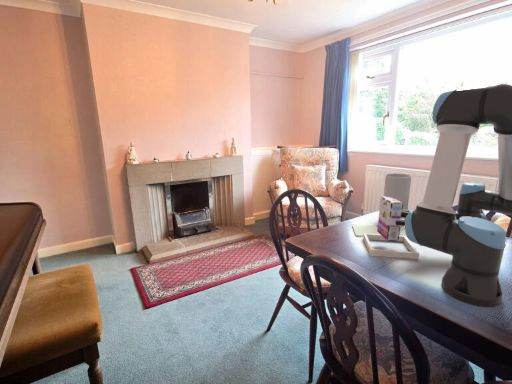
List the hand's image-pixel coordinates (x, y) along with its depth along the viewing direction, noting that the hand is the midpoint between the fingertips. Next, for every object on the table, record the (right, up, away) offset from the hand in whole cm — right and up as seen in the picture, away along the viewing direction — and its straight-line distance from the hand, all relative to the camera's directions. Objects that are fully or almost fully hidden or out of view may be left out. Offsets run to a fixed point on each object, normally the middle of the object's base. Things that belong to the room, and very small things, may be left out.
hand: (382, 216), depth 118 cm
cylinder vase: (+23, -5, +38) cm, 45 cm away
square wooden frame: (+3, -14, +2) cm, 14 cm away
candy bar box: (+3, -9, +1) cm, 9 cm away
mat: (+2, -9, +20) cm, 22 cm away
